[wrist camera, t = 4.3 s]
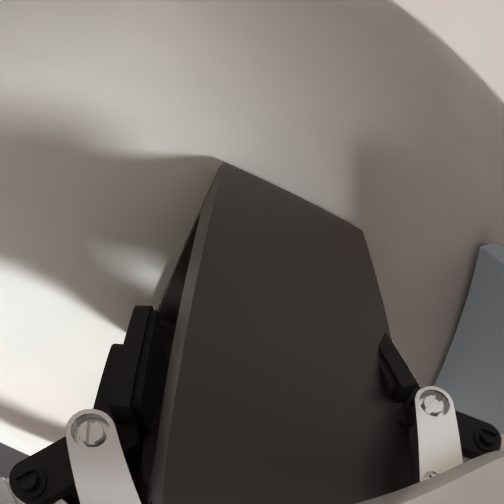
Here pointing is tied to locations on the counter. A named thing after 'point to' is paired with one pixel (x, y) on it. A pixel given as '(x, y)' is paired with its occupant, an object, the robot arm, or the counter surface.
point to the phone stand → (271, 360)
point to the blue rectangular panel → (479, 344)
